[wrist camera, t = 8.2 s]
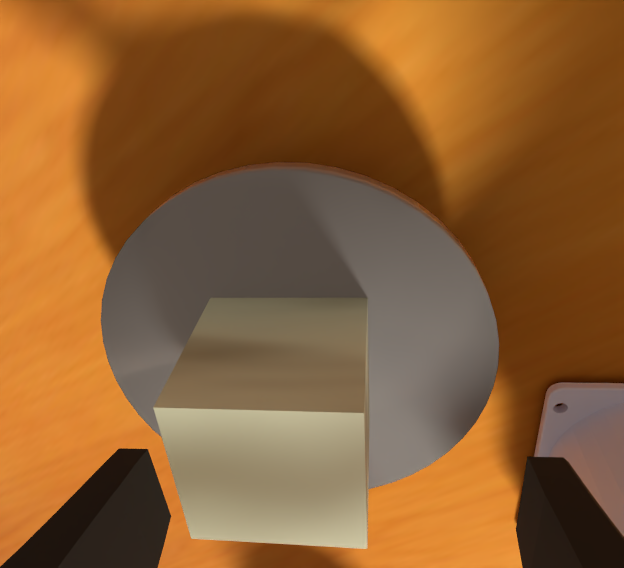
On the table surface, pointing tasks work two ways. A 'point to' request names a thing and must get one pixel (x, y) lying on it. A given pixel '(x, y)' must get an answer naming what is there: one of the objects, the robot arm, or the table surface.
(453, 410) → the cake stand
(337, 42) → the table surface
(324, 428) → the block
